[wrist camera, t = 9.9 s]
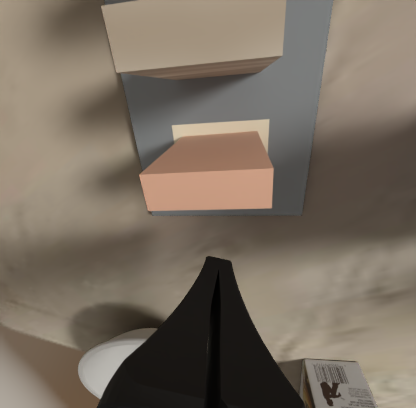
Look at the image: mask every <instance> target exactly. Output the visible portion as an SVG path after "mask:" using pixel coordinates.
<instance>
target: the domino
mask: <svg viewBox="0 0 416 408" xmlns="http://www.w3.org/2000/svg"><path fill="white" fill-rule="evenodd" d="M101 8H102V13H103V17H104V21H105V26H106V30H107V34H108V38H109V43H110V47H111V51H112V56H113V60H114V64H115V69H116V73H123V74H131V75H139V76H147V77H155V78H163V79H171V80H183V79H194V78H204V77H215V76H226V75H237V74H247V73H258V72H261V71H262V70H263V69H265V68H266V67H268V66H269V65H270V64H272V63H273V62H274V61H276V60H277V59H279V58H280V57H281V56H282V55H283V41H284V27H285V12H286V0H136V1H130V2H123V3H116V4H110V5H103V6H101Z"/></svg>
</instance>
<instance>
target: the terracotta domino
mask: <svg viewBox="0 0 416 408" xmlns="http://www.w3.org/2000/svg"><path fill="white" fill-rule="evenodd" d="M273 173H274V168H273V166H272V163H271V161H270V159H269V156H268V154H267V152H266V150H265V147H264V145H263V143H262V141H261V138H260V136H259V134H258V131H250V132H236V133H223V134H209V135H196V136H183V137H182V138H180V139H179V140H178V141H177V142H176V143H175V144H174V145H172V146H171V147H170V148H169V149H168V150H167V151H166V152H164V153H163V154H162V155H161V156H160V157H159V158H158V159H156V160H155V161H154V162H153V163H152V164H151V165H150V166H148V167H147V168H146V169H145V170H144V171H143V172H142V173H140V174H139V177H140V181H141V185H142V188H143V192H144V196H145V200H146V204H147V208H148V211H170V210H218V209H265V208H272V193H273Z"/></svg>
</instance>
